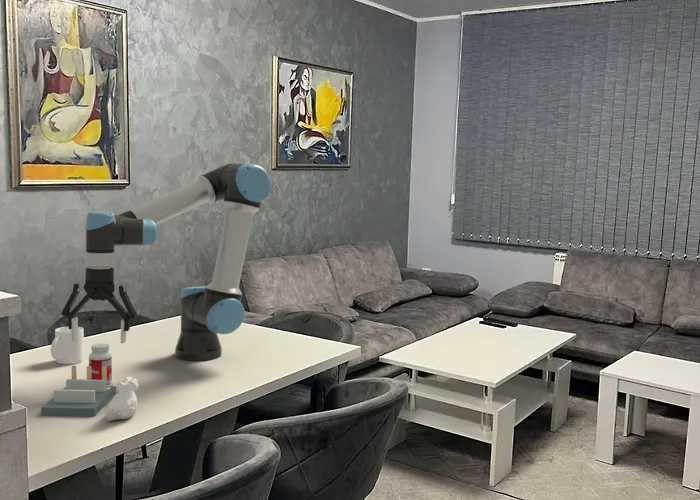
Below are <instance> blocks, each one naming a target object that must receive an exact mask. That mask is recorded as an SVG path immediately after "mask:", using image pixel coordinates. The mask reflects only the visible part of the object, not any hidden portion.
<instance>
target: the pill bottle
mask: <svg viewBox="0 0 700 500" xmlns="http://www.w3.org/2000/svg"><path fill="white" fill-rule="evenodd" d="M91 351H92V352H90V354H89V355H88V366H91V375H92V380H102V367H103V366H106V367H107V386H109V385H110V384H111V383H112V380H113V378H112V377H113V373H112V371H113V362H112V361H113V360H112V359H113V355H112V353H111V352H110V345H109V344H108V343H104V342H103V343H101V342H100V343H94V344H92V345H91Z"/></svg>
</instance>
